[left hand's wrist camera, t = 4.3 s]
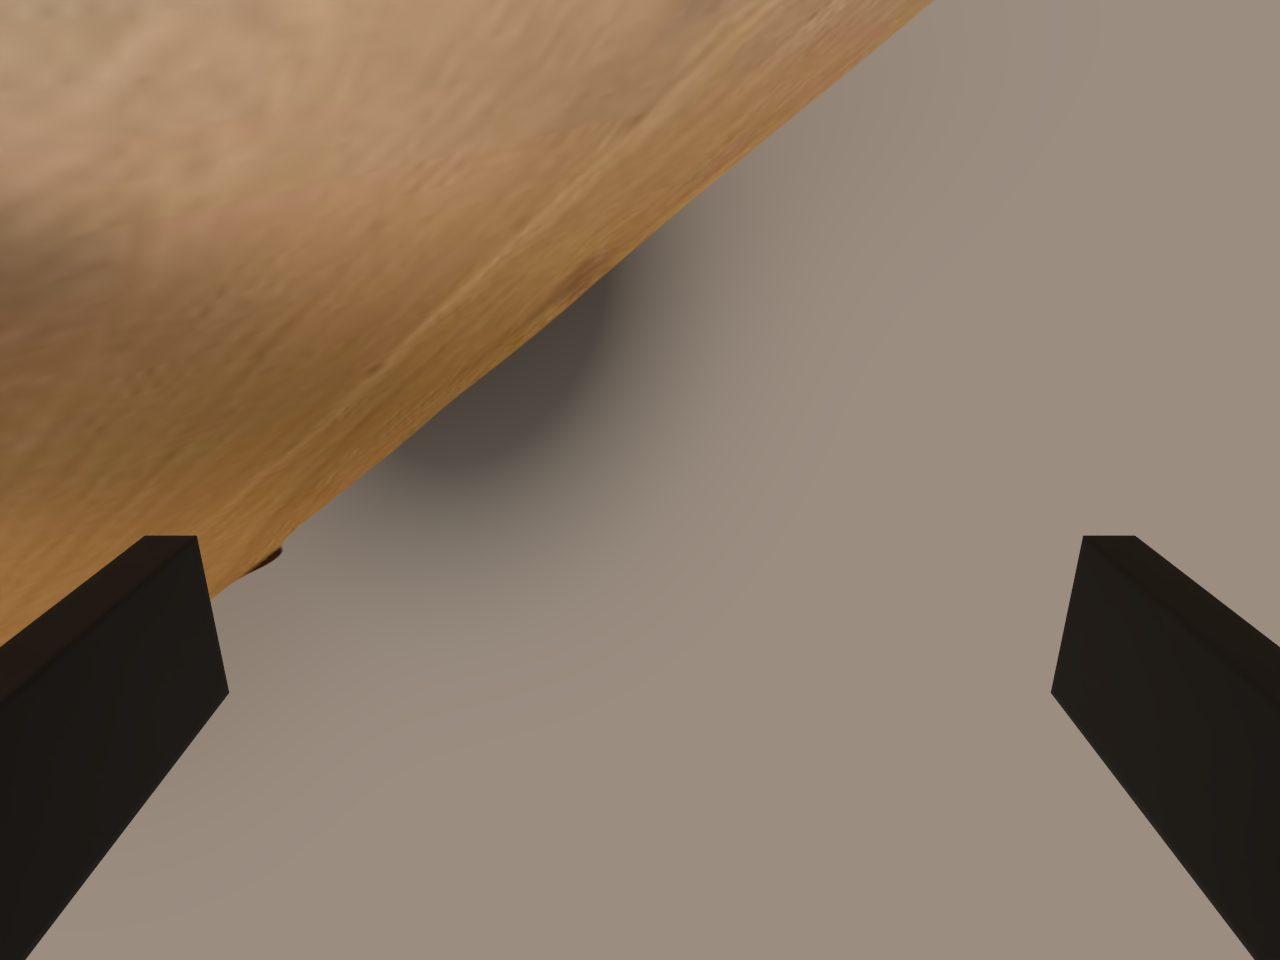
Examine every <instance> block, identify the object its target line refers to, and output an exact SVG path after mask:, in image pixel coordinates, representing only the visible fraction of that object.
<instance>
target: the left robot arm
mask: <svg viewBox="0 0 1280 960" xmlns="http://www.w3.org/2000/svg"><path fill="white" fill-rule="evenodd" d="M228 694H229V690H228V685H227V680H226V675H225V670H224V666H223V661H222V656H221V651H220V646H219V642H218V636H217V632H216V627H215V622H214V617H213V612H212V607H211V603H210V598H209V593H208V588H207V583H206V578H205V573H204V569H203V564H202V559H201V554H200V549H199V544H198V540H197V536H144V537H143V538H141V539H140V540H139V541H137V542H136V543H135V544H134V545H132V546H131V547H130V548H128V549H127V550H126V551H124V552H123V553H122V554H121V555H119V556H118V557H117V558H115V559H114V560H113V561H111V562H110V563H109V564H108V565H106V566H105V567H104V568H102V569H101V570H100V571H98V572H97V573H96V574H95V575H93V576H92V577H91V578H89V579H88V580H87V581H86V582H84V583H83V584H82V585H80V586H79V587H78V588H76V589H75V590H74V591H73V592H71V593H70V594H69V595H67V596H66V597H65V598H63V599H62V600H61V601H60V602H58V603H57V604H56V605H54V606H53V607H52V608H50V609H49V610H48V611H47V612H45V613H44V614H43V615H41V616H40V617H39V618H37V619H36V620H35V621H34V622H32V623H31V624H30V625H28V626H27V627H26V628H24V629H23V630H22V631H21V632H19V633H18V634H17V635H15V636H14V637H13V638H12V639H10V640H9V641H8V642H6V643H5V644H4V645H2V646H1V647H0V960H26V958H27V957H28V956H29V954H30V953H31V952H32V950H33V949H34V948H35V946H36V945H37V944H38V943H39V941H40V940H41V939H42V937H43V936H44V935H45V933H46V932H47V931H48V929H49V928H50V927H51V925H52V924H53V923H54V922H55V920H56V919H57V918H58V916H59V915H60V914H61V912H62V911H63V910H64V908H65V907H66V906H67V905H68V903H69V902H70V901H71V899H72V898H73V897H74V895H75V894H76V893H77V891H78V890H79V889H80V887H81V886H82V885H83V884H84V882H85V881H86V880H87V878H88V877H89V876H90V874H91V873H92V872H93V870H94V869H95V868H96V867H97V865H98V864H99V863H100V861H101V860H102V859H103V857H104V856H105V855H106V853H107V852H108V851H109V849H110V848H111V847H112V846H113V844H114V843H115V842H116V840H117V839H118V838H119V836H120V835H121V834H122V832H123V831H124V830H125V828H126V827H127V826H128V825H129V823H130V822H131V821H132V819H133V818H134V817H135V815H136V814H137V813H138V811H139V810H140V809H141V807H142V806H143V805H144V804H145V802H146V801H147V800H148V798H149V797H150V796H151V794H152V793H153V792H154V791H155V789H156V788H157V787H158V785H159V784H160V783H161V781H162V780H163V779H164V777H165V776H166V775H167V773H168V772H169V771H170V770H171V768H172V767H173V766H174V764H175V763H176V762H177V760H178V759H179V758H180V756H181V755H182V754H183V752H184V751H185V750H186V749H187V747H188V746H189V745H190V743H191V742H192V741H193V739H194V738H195V737H196V735H197V734H198V733H199V732H200V730H201V729H202V728H203V726H204V725H205V724H206V722H207V721H208V720H209V718H210V717H211V716H212V715H213V713H214V712H215V710H216V709H217V708H218V707H219V705H220V704H221V703H222V701H223V700H224V699H225V697H226V696H227V695H228ZM1051 694H1052V695H1053V696H1054V697H1055V699H1056V700H1057V701H1058V703H1059V704H1060V705H1061V707H1062V708H1063V709H1064V711H1065V712H1066V713H1067V715H1068V716H1069V717H1070V718H1071V720H1072V721H1073V722H1074V724H1075V725H1076V726H1077V728H1078V729H1079V730H1080V731H1081V733H1082V734H1083V735H1084V737H1085V738H1086V739H1087V741H1088V742H1089V743H1090V745H1091V746H1092V747H1093V749H1094V750H1095V751H1096V753H1097V754H1098V755H1099V756H1100V758H1101V759H1102V760H1103V762H1104V763H1105V764H1106V766H1107V767H1108V768H1109V770H1110V771H1111V772H1112V773H1113V775H1114V776H1115V777H1116V779H1117V780H1118V781H1119V783H1120V784H1121V785H1122V787H1123V788H1124V789H1125V790H1126V792H1127V793H1128V794H1129V796H1130V797H1131V798H1132V800H1133V801H1134V802H1135V804H1136V805H1137V806H1138V807H1139V809H1140V810H1141V811H1142V813H1143V814H1144V815H1145V817H1146V818H1147V819H1148V821H1149V822H1150V823H1151V825H1152V826H1153V827H1154V829H1155V830H1156V831H1157V832H1158V834H1159V835H1160V836H1161V838H1162V839H1163V840H1164V842H1165V843H1166V844H1167V846H1168V847H1169V848H1170V849H1171V851H1172V852H1173V853H1174V855H1175V856H1176V857H1177V859H1178V860H1179V861H1180V863H1181V864H1182V865H1183V867H1184V868H1185V869H1186V870H1187V872H1188V873H1189V874H1190V876H1191V877H1192V878H1193V880H1194V881H1195V882H1196V884H1197V885H1198V886H1199V887H1200V889H1201V890H1202V891H1203V893H1204V894H1205V895H1206V897H1207V898H1208V899H1209V901H1210V902H1211V903H1212V904H1213V906H1214V907H1215V908H1216V910H1217V911H1218V912H1219V914H1220V915H1221V916H1222V918H1223V919H1224V920H1225V922H1226V923H1227V924H1228V925H1229V927H1230V928H1231V929H1232V931H1233V932H1234V933H1235V935H1236V936H1237V937H1238V938H1239V940H1240V941H1241V942H1242V944H1243V945H1244V946H1245V948H1246V949H1247V950H1248V952H1249V953H1250V954H1251V956H1252V957H1253V958H1254V960H1280V647H1279V646H1278V645H1276V644H1275V643H1274V642H1272V641H1271V640H1270V639H1268V638H1267V637H1266V636H1265V635H1263V634H1262V633H1261V632H1259V631H1258V630H1257V629H1255V628H1254V627H1253V626H1252V625H1250V624H1249V623H1248V622H1246V621H1245V620H1244V619H1242V618H1241V617H1240V616H1239V615H1237V614H1236V613H1235V612H1233V611H1232V610H1231V609H1230V608H1228V607H1227V606H1226V605H1224V604H1223V603H1222V602H1220V601H1219V600H1218V599H1217V598H1215V597H1214V596H1213V595H1211V594H1210V593H1209V592H1207V591H1206V590H1205V589H1204V588H1202V587H1201V586H1200V585H1198V584H1197V583H1196V582H1194V581H1193V580H1192V579H1191V578H1189V577H1188V576H1187V575H1185V574H1184V573H1183V572H1182V571H1180V570H1179V569H1178V568H1176V567H1175V566H1174V565H1172V564H1171V563H1170V562H1169V561H1167V560H1166V559H1165V558H1163V557H1162V556H1161V555H1159V554H1158V553H1157V552H1156V551H1154V550H1153V549H1152V548H1150V547H1149V546H1148V545H1146V544H1145V543H1144V542H1143V541H1141V540H1140V539H1139V538H1137V537H1136V536H1083V540H1082V544H1081V549H1080V554H1079V559H1078V564H1077V569H1076V573H1075V578H1074V583H1073V588H1072V593H1071V598H1070V603H1069V607H1068V612H1067V617H1066V622H1065V627H1064V632H1063V636H1062V642H1061V646H1060V651H1059V656H1058V661H1057V666H1056V670H1055V675H1054V680H1053V685H1052V690H1051Z"/></svg>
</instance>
